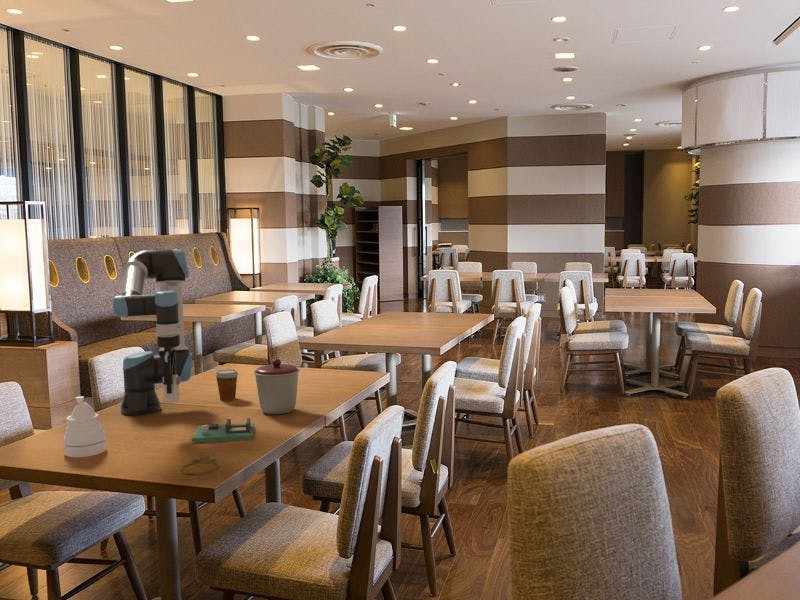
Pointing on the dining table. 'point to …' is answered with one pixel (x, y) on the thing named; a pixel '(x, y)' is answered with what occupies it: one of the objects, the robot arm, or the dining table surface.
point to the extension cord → (197, 457)
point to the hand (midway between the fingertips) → (171, 399)
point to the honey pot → (83, 432)
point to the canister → (277, 387)
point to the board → (223, 432)
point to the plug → (176, 389)
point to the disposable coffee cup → (227, 384)
